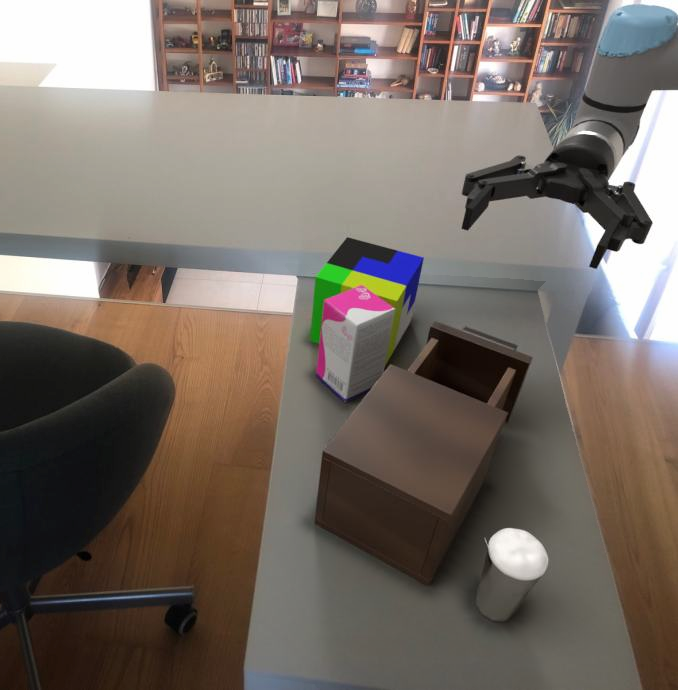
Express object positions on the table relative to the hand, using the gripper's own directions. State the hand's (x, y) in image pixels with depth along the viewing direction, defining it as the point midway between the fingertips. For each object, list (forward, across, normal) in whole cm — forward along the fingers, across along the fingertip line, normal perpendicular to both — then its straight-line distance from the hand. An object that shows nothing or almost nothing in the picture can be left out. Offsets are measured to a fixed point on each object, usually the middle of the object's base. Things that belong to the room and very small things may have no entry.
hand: (529, 237), depth 74 cm
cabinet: (+26, 0, -18) cm, 31 cm away
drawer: (+13, 0, -17) cm, 21 cm away
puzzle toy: (+4, +16, -18) cm, 24 cm away
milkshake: (+31, -11, -18) cm, 38 cm away
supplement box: (+13, +13, -18) cm, 25 cm away
